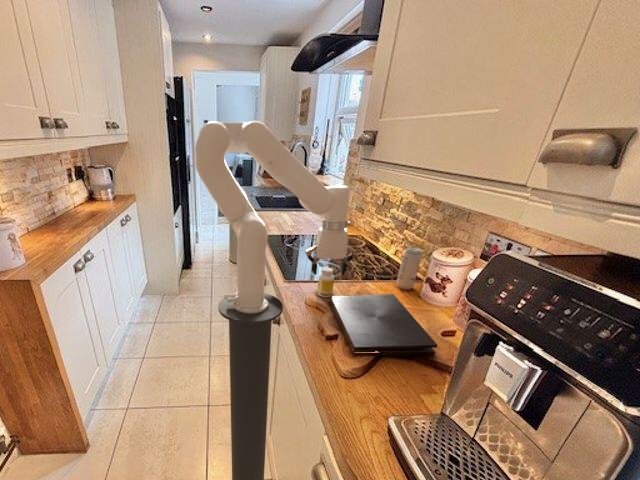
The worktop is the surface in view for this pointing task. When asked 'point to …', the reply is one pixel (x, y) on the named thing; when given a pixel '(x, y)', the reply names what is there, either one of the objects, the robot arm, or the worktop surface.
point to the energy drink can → (409, 267)
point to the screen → (380, 323)
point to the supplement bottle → (325, 283)
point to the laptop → (386, 352)
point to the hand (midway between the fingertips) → (328, 273)
